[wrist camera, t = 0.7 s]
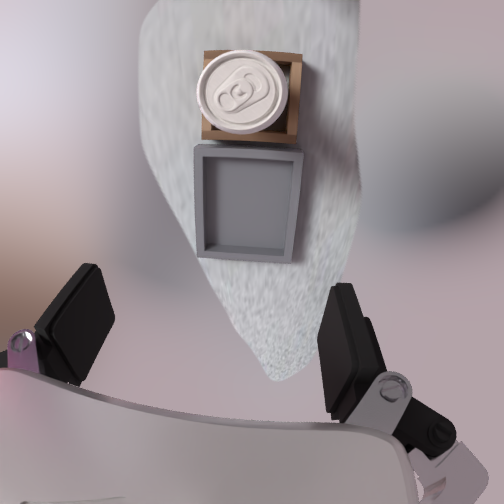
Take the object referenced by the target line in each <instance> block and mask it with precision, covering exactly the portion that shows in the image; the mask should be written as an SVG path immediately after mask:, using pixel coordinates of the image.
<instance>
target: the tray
mask: <svg viewBox="0 0 504 504" xmlns="http://www.w3.org/2000/svg"><path fill="white" fill-rule="evenodd" d="M303 158H304V153H303V151H302V150H301V149H291V148H279V147H265V146H247V145H219V144H198V145H197V146H195V147H194V198H195V226H196V247H197V257H200V258H214V259H228V260H243V261H258V262H273V263H288V264H291V259H292V252H293V244H294V237H295V229H296V221H297V213H298V204H299V196H300V187H301V178H302V168H303Z"/></svg>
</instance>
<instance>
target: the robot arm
mask: <svg viewBox="0 0 504 504" xmlns="http://www.w3.org/2000/svg"><path fill="white" fill-rule="evenodd" d="M114 321H115V314H114V311H113V308H112V305H111V302H110V299H109V296H108V293H107V289H106V286H105V283H104V279H103V276H102V272H101V269H100V268H98V266H97V265H96V264H89V263H84V264H82V265H81V267H80V268H79V269H78V270H77V271H76V272H75V274H74V275H73V276H72V278H70V280H69V281H68V282H67V283H66V285H65V286H64V287H63V289H62V290H61V291H60V292H59V293H58V295H57V296H56V297H55V299H54V300H53V301H52V302H51V304H50V305H49V306H48V308H47V309H46V311H45V312H44V313H43V315H42V316H41V317H40V319H39V320H38V322H37V323H36V324H35V326H34V327H35V329H36V331H35V333H33V332H32V331H31V330H29V329H23V330H19V331H17V332H16V333H14V334H13V335H12V336H11V338H10V339H9V341H8V346H7V347H8V349H7V350H6V351H3V352H0V504H474V503H475V501H476V500H477V498H479V496H480V495H481V494H482V493H483V491H484V490H485V488H486V486H487V484H488V480H489V477H488V472H487V470H486V469H485V468H484V467H483V465H482V464H481V463H480V462H479V461H478V459H477V458H476V457H475V456H474V455H473V454H472V452H471V451H470V450H469V449H468V448H467V447H466V446H465V445H464V444H463V442H462V441H461V442H459V443H458V441H457V440H456V430H455V427H454V425H453V424H452V422H451V421H449V420H448V419H447V418H445V417H444V416H442V415H440V414H439V413H437V412H435V411H434V410H432V409H431V408H429V407H428V406H426V405H424V404H423V403H421V402H420V401H418V400H416V399H415V398H413V397H412V386H411V384H410V382H409V381H408V379H407V378H406V377H404V376H403V375H402V374H400V373H397V372H392V371H388V372H387V369H386V366H385V363H384V359H383V356H382V353H381V350H380V347H379V344H378V341H377V338H376V335H375V332H374V329H373V326H372V323H371V321H370V319H369V318H368V317H363V314H362V311H361V308H360V305H359V302H358V299H357V296H356V294H355V291H354V288H353V285H352V284H351V283H337V284H336V286H332V287H331V289H330V293H329V296H328V300H327V304H326V308H325V311H324V315H323V318H322V322H321V325H320V329H319V332H318V337H317V343H318V350H319V357H320V364H321V372H322V380H323V388H324V397H325V406H326V412H327V413H331V419H332V420H339V421H340V423H319V422H318V423H316V422H274V421H255V420H241V419H230V418H220V417H211V416H203V415H197V414H190V413H184V412H177V411H172V410H166V409H160V408H156V407H151V406H146V405H142V404H137V403H133V402H129V401H125V400H121V399H117V398H113V397H109V396H106V395H102V394H99V393H95V392H92V391H89V390H85V389H82V388H79V387H80V384H81V382H82V381H84V380H85V379H86V377H87V375H88V373H89V371H90V369H91V367H92V365H93V363H94V361H95V359H96V357H97V355H98V353H99V351H100V349H101V347H102V345H103V343H104V341H105V339H106V337H107V335H108V333H109V331H110V329H111V328H112V325H113V323H114ZM68 382H69V384H67V383H68ZM70 384H72V385H70ZM73 385H75V386H73ZM76 386H78V387H76ZM413 471H415V472H416V473H417V475H418V476H419V478H418V480H419V481H420V482H421V484H422V486H423V488H424V495H423V498H422V500H421V501H420V502H419V498H418V491H417V485H416V481H415V476H414V472H413Z"/></svg>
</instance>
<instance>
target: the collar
mask: <svg viewBox="0 0 504 504" xmlns="http://www.w3.org/2000/svg"><path fill="white" fill-rule="evenodd" d="M230 51H234V50H213V51H204V67H203V70H204V69H205V67H206V66H207V65H208V64H209V63H210V62H211V61H212V60H213V59H215V58H216V57H218V56H220V55H222V54H224V53H226V52H230ZM256 52H259V53H262V54H264V55H266V56H268V57H269V58H271V59H272V60H273V61H274V62H275V63H276V64H280V65H290V74H289V89H288V104H287V119H286V131H275V130H261V131H258V132H255V133H251V134H232V133H228V132H225V131H222V130H220V129H218V128H216V127H215V126H214V125H212V124H211V123H210V122H209V121H208V120H207V119H206V118H205V116H204V115H203V113H202V140H242V141H261V142H276V143H288V144H296V139H297V127H298V114H299V101H300V87H301V71H302V54H295V53H285V52H272V51H256Z"/></svg>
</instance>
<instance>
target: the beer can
mask: <svg viewBox="0 0 504 504" xmlns="http://www.w3.org/2000/svg"><path fill="white" fill-rule="evenodd" d="M287 97H288V86H287V81H286V78H285V75H284V73H283V72H282V70H281V68H280V67H279V66H278V65H277V64H276V63H275V62H274V61H273V60H272V59H271V58H269V57H268V56H266V55H264V54H262V53H259V52H256V51H252V50H234V51H230V52H226V53H224V54H222V55H220V56H218V57H216V58H215V59H213V60H212V61H211V62H210V63H209V64H208V65H207V66H206V67H205V69H204V70H203V72H202V73H201V75H200V77H199V80H198V84H197V101H198V105H199V108H200V110H201V112H202V113H203V115H204V116H205V118H206V119H207V120H208V121H209V122H210V123H211V124H212V125H214V126H215V127H217V128H218V129H220V130H222V131H225V132H228V133H232V134H251V133H255V132H258V131H261V130H263V129H265V128H267V127H268V126H270V125H271V124H272V123H274V122H275V121H276V120H277V119H278V117H279V116H280V115H281V113H282V112H283V110H284V108H285V105H286V102H287Z"/></svg>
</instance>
